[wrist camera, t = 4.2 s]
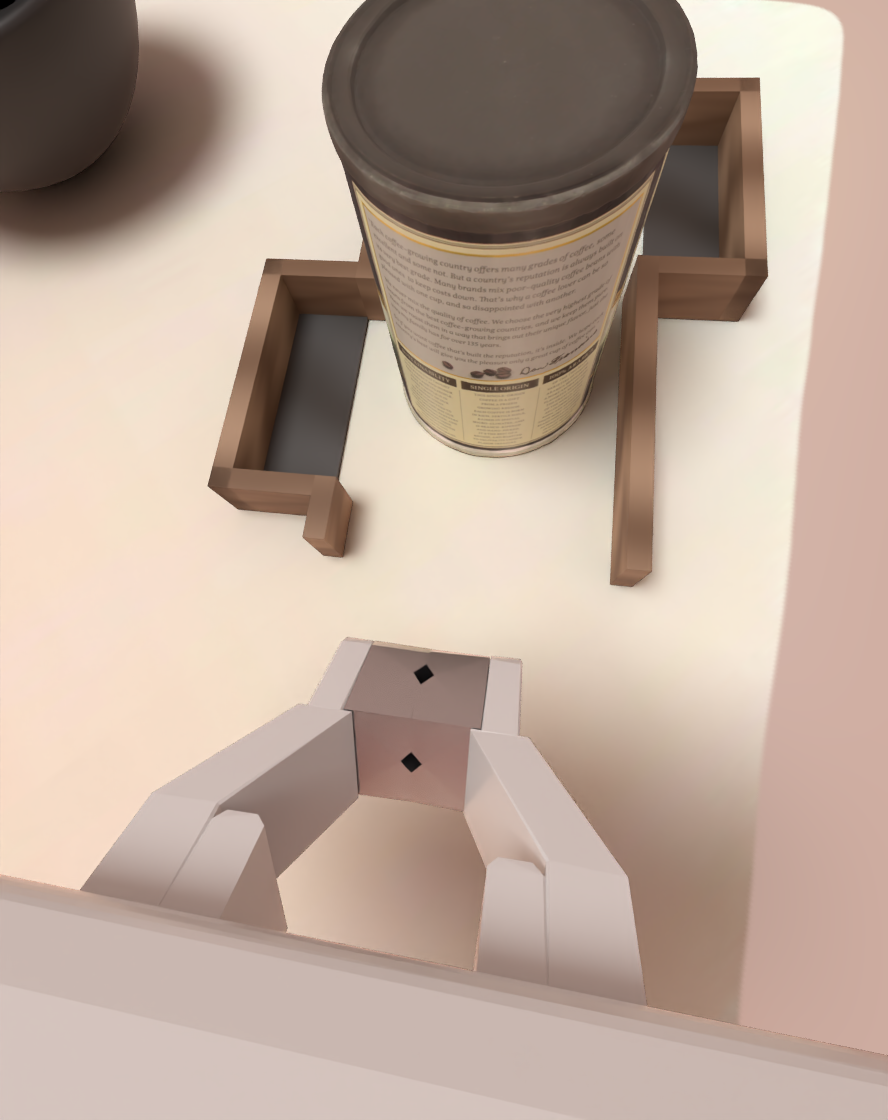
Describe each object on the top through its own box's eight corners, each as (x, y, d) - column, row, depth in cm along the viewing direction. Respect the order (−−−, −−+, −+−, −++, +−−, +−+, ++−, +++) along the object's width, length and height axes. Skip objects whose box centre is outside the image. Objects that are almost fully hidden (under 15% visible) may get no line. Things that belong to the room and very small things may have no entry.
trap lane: (744, 598, 23) (780, 583, 21) (228, 545, 26) (196, 526, 23) (733, 123, 31) (759, 64, 28) (330, 122, 33) (316, 67, 31)
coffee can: (369, 346, 29) (264, 30, 15) (530, 265, 29) (567, -110, 16) (457, 495, 26) (423, 272, 12) (632, 402, 26) (784, 92, 13)
